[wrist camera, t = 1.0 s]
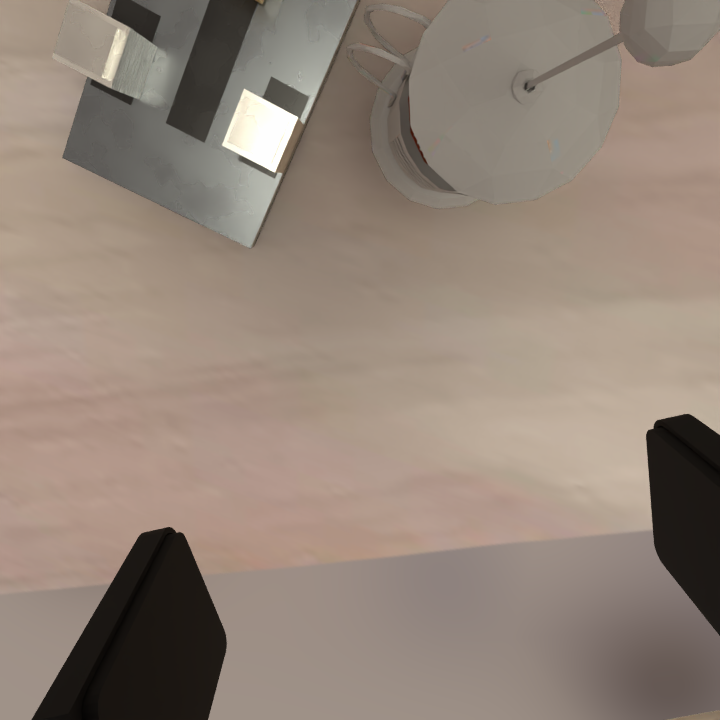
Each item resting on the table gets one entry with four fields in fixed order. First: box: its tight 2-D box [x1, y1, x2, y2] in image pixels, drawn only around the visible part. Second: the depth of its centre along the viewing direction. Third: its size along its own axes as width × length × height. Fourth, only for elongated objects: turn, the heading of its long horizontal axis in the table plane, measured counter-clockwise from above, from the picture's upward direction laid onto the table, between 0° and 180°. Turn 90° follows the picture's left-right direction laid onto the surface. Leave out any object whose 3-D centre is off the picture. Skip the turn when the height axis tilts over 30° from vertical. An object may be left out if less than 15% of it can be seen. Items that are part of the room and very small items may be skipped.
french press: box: [347, 0, 720, 209], centre depth 21 cm, size 10×12×25 cm
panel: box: [52, 0, 360, 249], centre depth 29 cm, size 20×12×6 cm, turn 154°
